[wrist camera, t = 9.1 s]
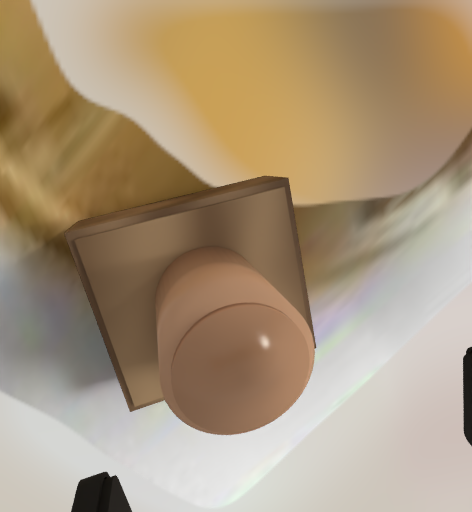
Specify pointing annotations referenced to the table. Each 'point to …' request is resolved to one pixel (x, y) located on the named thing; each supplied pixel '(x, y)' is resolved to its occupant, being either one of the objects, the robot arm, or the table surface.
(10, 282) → the table surface
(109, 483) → the robot arm
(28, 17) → the table surface
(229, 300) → the canister
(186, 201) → the walnut block
